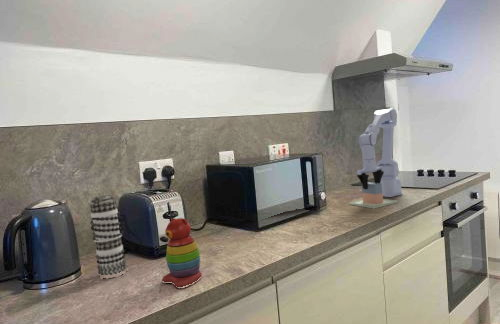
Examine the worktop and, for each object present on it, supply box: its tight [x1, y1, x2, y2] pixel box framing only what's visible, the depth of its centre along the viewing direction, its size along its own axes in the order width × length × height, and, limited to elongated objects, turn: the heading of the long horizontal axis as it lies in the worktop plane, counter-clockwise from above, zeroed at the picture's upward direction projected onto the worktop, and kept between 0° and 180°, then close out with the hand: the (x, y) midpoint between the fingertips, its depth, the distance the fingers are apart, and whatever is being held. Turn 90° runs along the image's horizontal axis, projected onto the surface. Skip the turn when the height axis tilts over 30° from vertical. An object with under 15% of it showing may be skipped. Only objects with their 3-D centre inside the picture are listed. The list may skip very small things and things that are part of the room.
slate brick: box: [360, 181, 383, 194], centre depth 177 cm, size 4×9×4 cm, turn 26°
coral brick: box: [361, 192, 384, 204], centre depth 177 cm, size 4×9×4 cm, turn 26°
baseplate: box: [348, 198, 399, 209], centre depth 177 cm, size 15×16×1 cm
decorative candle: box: [88, 194, 128, 275], centre depth 118 cm, size 9×9×25 cm
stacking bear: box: [161, 217, 203, 287], centre depth 106 cm, size 11×10×18 cm
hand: (371, 187), depth 177 cm, fingers open, 7 cm apart
